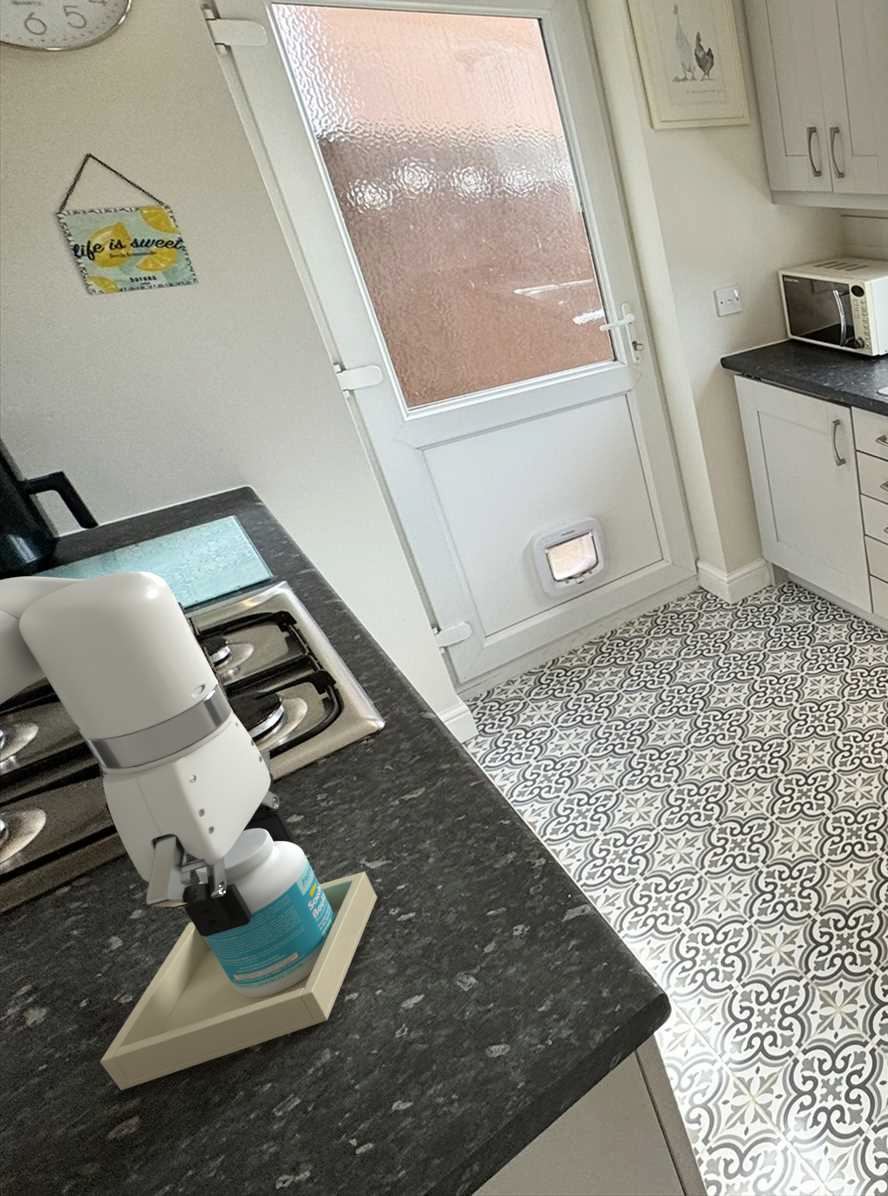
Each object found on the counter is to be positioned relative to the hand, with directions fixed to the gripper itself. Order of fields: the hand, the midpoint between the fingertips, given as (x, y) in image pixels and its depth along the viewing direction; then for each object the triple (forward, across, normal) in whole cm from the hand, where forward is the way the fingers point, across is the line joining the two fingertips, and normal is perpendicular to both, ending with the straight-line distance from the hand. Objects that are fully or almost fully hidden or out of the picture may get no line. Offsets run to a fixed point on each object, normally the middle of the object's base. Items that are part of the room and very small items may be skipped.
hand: (251, 886), depth 67 cm
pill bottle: (+10, 0, 0) cm, 10 cm away
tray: (+10, +1, -2) cm, 10 cm away
